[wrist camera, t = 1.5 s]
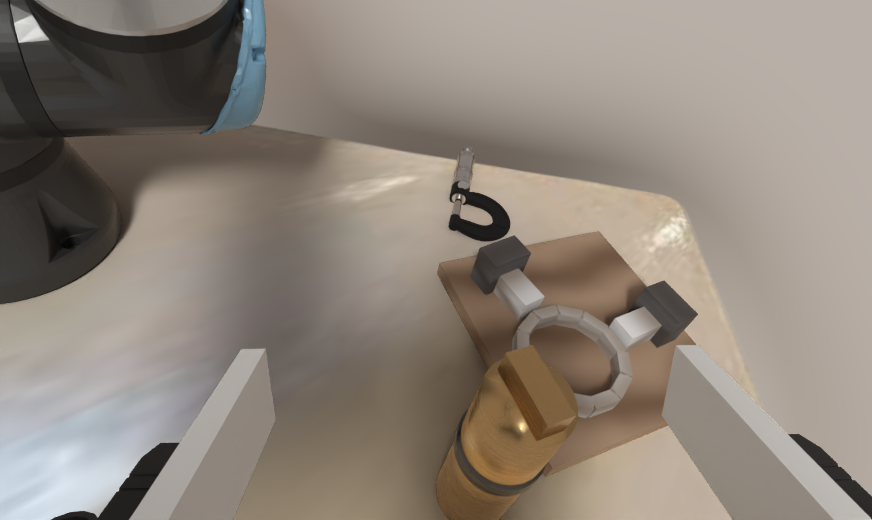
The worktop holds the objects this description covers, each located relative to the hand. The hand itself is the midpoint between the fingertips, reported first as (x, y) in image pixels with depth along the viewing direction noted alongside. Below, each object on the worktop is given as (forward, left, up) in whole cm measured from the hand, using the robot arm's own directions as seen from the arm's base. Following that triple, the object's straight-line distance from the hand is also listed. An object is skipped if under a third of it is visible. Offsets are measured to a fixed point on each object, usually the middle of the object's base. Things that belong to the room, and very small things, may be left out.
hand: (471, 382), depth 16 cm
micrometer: (-30, +21, -21) cm, 43 cm away
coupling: (-2, +6, -21) cm, 22 cm away
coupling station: (-11, +21, -21) cm, 31 cm away
